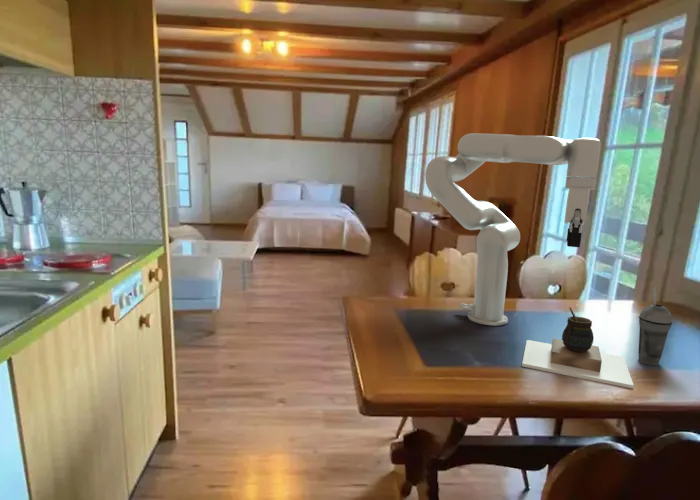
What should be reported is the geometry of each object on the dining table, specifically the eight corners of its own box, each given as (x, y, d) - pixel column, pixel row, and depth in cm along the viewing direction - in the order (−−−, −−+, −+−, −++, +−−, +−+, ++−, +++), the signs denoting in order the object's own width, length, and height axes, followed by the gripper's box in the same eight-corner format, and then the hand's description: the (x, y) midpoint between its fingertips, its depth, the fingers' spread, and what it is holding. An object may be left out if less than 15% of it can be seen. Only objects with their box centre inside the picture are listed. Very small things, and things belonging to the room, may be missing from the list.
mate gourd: (578, 356, 110) (582, 317, 108) (553, 345, 116) (557, 308, 115) (598, 352, 112) (603, 314, 111) (573, 342, 119) (577, 306, 118)
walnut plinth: (550, 362, 113) (552, 351, 112) (551, 349, 122) (552, 338, 121) (600, 372, 108) (601, 360, 108) (596, 357, 117) (598, 346, 117)
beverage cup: (666, 370, 113) (679, 293, 109) (632, 362, 116) (644, 288, 113) (664, 360, 119) (676, 287, 115) (632, 353, 123) (643, 283, 119)
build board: (521, 366, 112) (522, 363, 112) (526, 342, 128) (526, 339, 128) (633, 388, 102) (633, 385, 102) (623, 359, 118) (623, 356, 118)
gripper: (565, 182, 134) (558, 239, 137) (566, 183, 118) (558, 247, 121) (593, 184, 130) (585, 241, 134) (598, 185, 115) (589, 250, 118)
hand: (572, 244), depth 127 cm, fingers open, 9 cm apart
